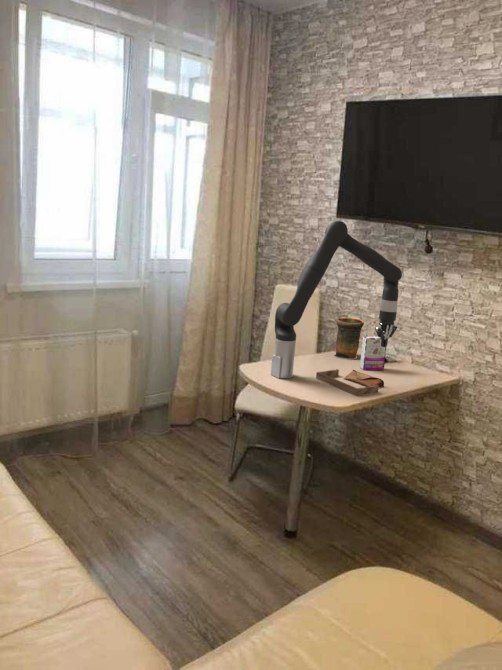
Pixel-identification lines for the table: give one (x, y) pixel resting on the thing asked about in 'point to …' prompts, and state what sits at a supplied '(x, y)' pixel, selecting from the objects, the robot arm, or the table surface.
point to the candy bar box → (372, 353)
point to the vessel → (348, 337)
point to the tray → (326, 378)
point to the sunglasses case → (364, 379)
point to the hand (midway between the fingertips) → (383, 346)
